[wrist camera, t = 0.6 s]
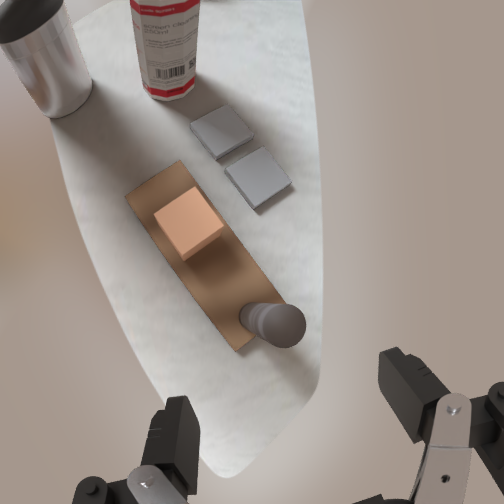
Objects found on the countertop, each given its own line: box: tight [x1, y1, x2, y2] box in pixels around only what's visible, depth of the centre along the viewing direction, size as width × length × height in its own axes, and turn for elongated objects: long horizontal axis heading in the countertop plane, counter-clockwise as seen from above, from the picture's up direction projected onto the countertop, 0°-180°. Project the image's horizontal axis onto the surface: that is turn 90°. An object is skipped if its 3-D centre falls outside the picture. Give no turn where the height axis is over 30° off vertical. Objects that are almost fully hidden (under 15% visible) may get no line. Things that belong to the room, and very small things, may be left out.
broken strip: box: [190, 104, 292, 209], centre depth 38 cm, size 14×6×1 cm, turn 37°
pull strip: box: [125, 160, 306, 352], centre depth 29 cm, size 22×8×14 cm, turn 37°
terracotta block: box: [154, 187, 224, 261], centre depth 32 cm, size 5×5×5 cm
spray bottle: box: [130, 0, 200, 101], centre depth 26 cm, size 8×8×25 cm
